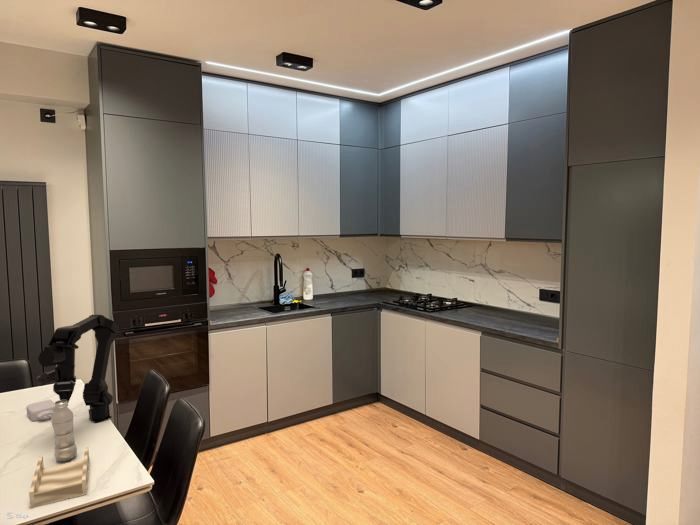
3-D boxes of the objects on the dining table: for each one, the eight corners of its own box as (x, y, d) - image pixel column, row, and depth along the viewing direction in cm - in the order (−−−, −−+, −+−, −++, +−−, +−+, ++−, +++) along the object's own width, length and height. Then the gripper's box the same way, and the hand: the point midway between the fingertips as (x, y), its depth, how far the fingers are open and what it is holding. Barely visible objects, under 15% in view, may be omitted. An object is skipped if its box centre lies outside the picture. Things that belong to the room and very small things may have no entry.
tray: (40, 470, 161) (39, 457, 160) (89, 460, 167) (88, 447, 166) (30, 507, 140) (29, 492, 140) (86, 494, 146) (85, 479, 146)
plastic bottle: (82, 455, 170) (77, 398, 168) (64, 465, 163) (59, 406, 161) (67, 453, 172) (62, 397, 170) (50, 462, 166) (44, 404, 164)
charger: (35, 426, 195) (27, 416, 206) (62, 419, 201) (52, 409, 212) (34, 415, 194) (26, 405, 205) (61, 408, 201) (51, 398, 212)
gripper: (42, 361, 185) (41, 404, 184) (36, 367, 168) (35, 414, 167) (76, 359, 190) (75, 400, 189) (74, 365, 173) (73, 411, 172)
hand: (64, 406), depth 179 cm, fingers open, 9 cm apart
